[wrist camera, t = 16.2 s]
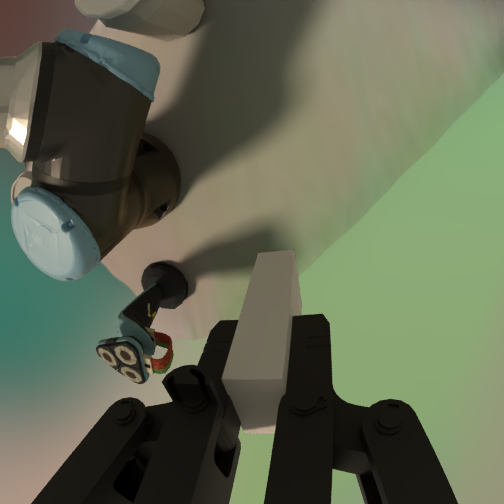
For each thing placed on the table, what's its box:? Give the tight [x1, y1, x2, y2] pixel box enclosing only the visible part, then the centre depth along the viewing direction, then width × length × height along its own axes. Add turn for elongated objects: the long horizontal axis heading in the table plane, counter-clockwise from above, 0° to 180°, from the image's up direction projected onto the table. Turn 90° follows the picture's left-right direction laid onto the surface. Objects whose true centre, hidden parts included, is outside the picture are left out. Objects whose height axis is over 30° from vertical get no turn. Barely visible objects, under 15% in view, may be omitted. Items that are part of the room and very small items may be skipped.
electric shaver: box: [96, 262, 188, 384], centre depth 47 cm, size 9×12×20 cm
